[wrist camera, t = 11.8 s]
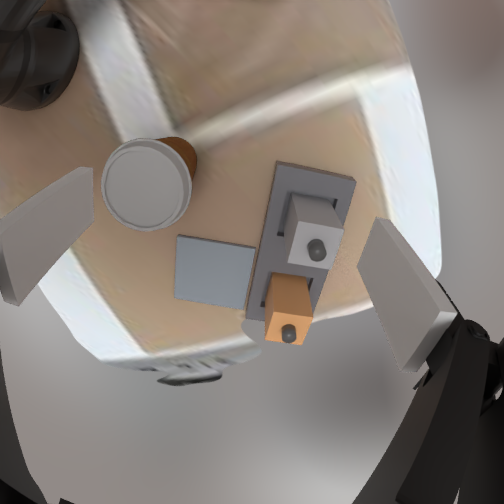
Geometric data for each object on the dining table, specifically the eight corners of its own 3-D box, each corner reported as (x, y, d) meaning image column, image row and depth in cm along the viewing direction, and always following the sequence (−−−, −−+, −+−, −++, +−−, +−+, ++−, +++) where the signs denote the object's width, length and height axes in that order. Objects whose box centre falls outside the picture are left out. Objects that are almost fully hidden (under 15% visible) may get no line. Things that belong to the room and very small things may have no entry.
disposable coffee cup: (209, 195, 41) (190, 237, 30) (141, 194, 41) (103, 234, 30) (210, 123, 36) (187, 139, 25) (137, 125, 36) (92, 144, 25)
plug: (264, 297, 48) (264, 348, 38) (272, 270, 45) (273, 320, 36) (296, 302, 48) (302, 353, 39) (305, 276, 45) (314, 326, 36)
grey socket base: (246, 310, 50) (242, 363, 40) (277, 160, 38) (282, 188, 28) (306, 318, 50) (314, 371, 41) (352, 177, 38) (381, 209, 29)
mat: (175, 295, 49) (174, 298, 48) (178, 234, 43) (177, 236, 43) (243, 307, 49) (243, 309, 49) (255, 247, 44) (255, 249, 44)
